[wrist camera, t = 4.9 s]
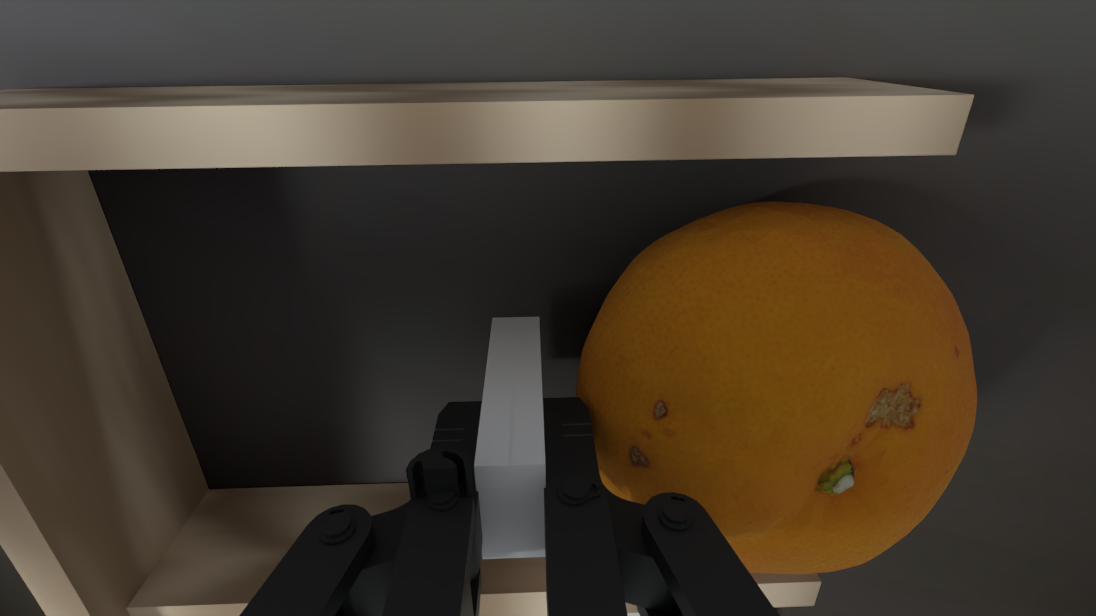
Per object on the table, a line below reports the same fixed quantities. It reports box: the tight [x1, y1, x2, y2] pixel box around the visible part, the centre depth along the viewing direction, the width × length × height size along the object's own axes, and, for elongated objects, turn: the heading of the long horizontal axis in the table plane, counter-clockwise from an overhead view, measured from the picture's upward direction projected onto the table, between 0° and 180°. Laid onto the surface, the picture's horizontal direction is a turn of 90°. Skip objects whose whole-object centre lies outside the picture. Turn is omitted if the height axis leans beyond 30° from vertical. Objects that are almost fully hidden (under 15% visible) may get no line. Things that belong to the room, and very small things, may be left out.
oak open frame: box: [0, 77, 974, 616], centre depth 16 cm, size 23×16×6 cm
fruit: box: [576, 201, 977, 574], centre depth 16 cm, size 10×10×8 cm
